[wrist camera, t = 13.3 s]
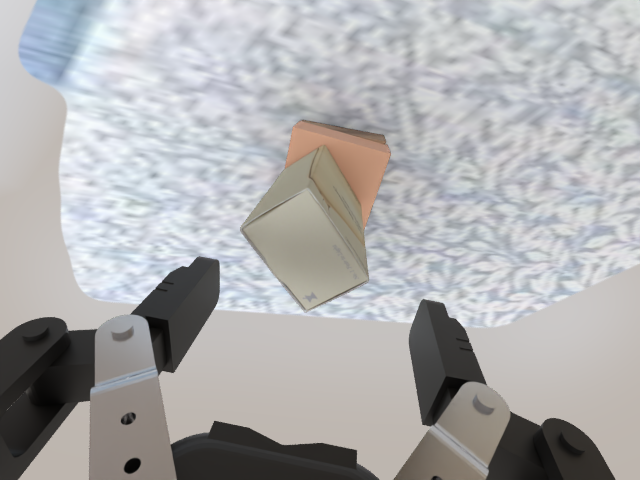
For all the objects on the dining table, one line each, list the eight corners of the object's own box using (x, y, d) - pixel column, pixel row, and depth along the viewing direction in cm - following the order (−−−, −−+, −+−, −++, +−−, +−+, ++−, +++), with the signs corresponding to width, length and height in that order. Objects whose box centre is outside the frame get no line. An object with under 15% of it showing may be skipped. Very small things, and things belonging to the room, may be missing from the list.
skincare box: (362, 204, 28) (376, 284, 17) (318, 229, 29) (306, 317, 18) (323, 140, 26) (311, 184, 15) (277, 169, 27) (235, 230, 16)
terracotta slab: (387, 145, 29) (390, 154, 26) (360, 223, 33) (360, 240, 29) (300, 120, 29) (293, 126, 26) (283, 202, 32) (275, 216, 29)
